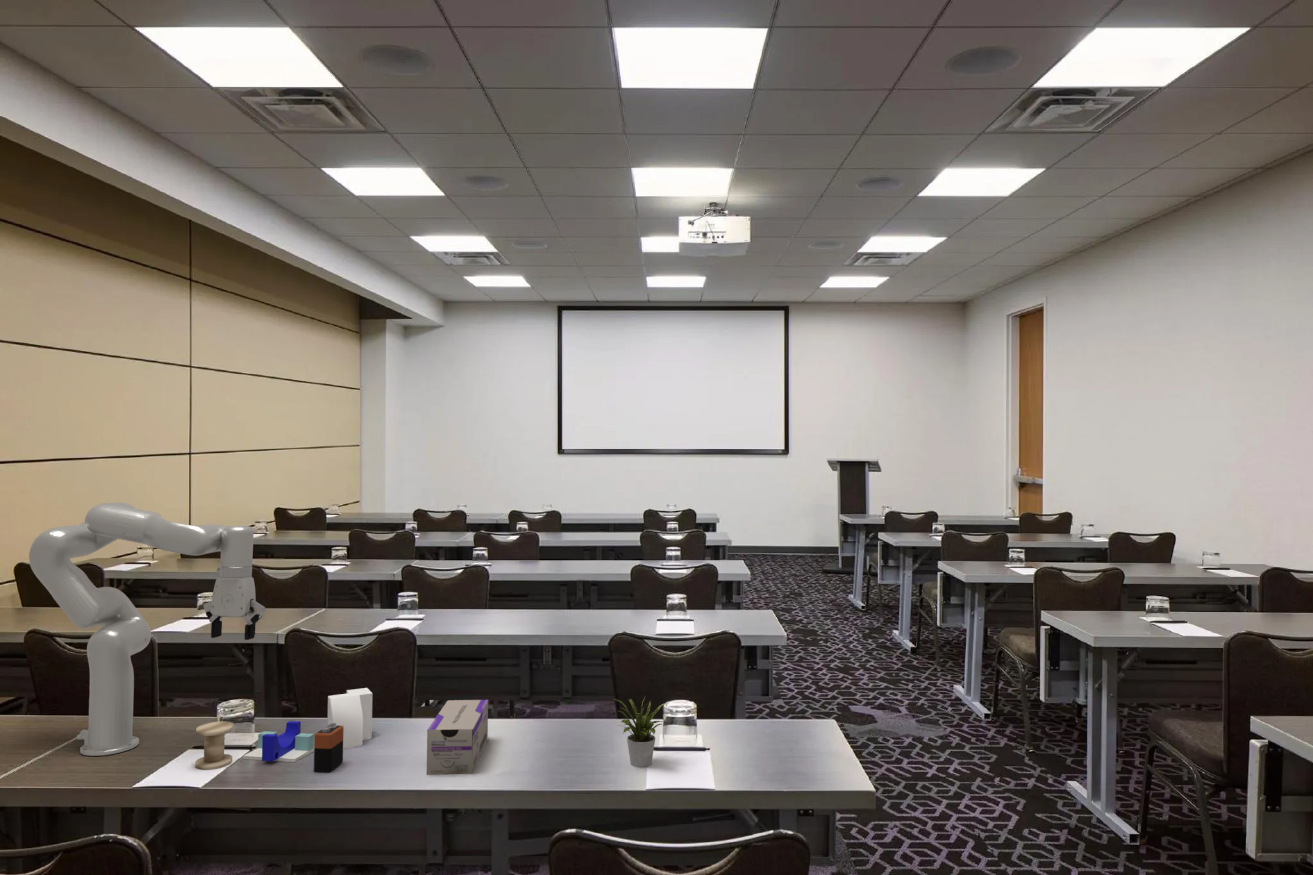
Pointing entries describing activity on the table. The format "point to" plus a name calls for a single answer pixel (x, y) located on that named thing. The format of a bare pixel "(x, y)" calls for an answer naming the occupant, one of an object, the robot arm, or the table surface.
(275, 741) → the blue cradle bracket
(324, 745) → the battery
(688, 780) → the table surface
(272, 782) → the table surface
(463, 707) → the surgical sutures box
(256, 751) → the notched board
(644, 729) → the house plant
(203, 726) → the bobbin
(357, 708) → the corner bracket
